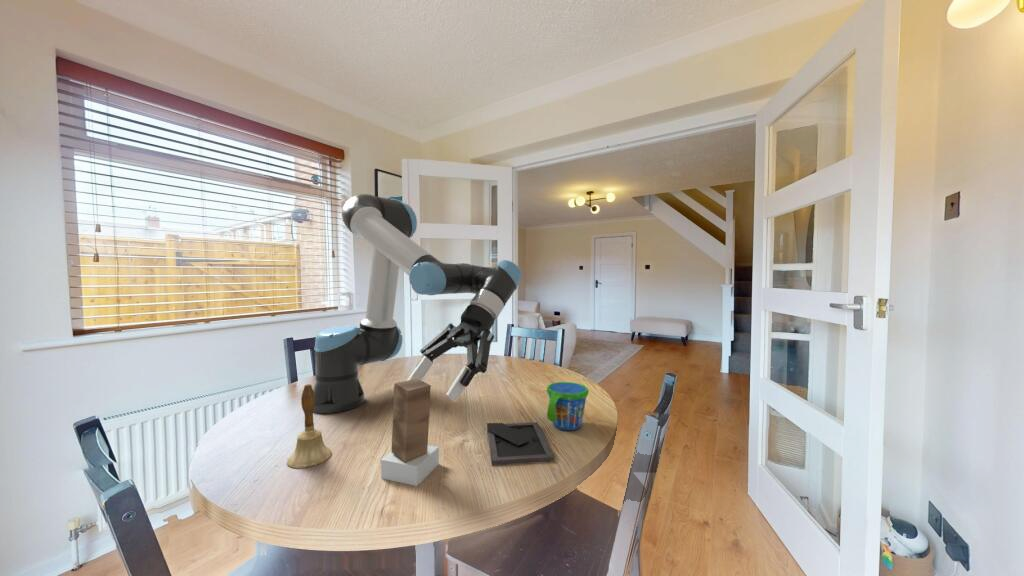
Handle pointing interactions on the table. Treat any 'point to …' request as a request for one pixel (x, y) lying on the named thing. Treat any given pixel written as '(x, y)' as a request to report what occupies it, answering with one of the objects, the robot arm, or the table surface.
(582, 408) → the snack cup
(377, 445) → the table surface
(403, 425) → the walnut block
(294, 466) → the hand bell
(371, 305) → the robot arm
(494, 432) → the picture frame
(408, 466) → the white block
